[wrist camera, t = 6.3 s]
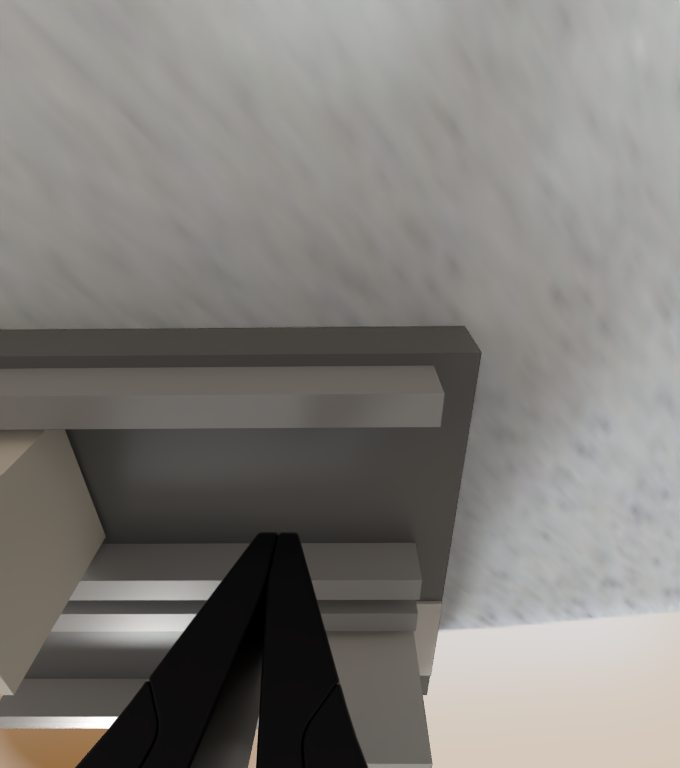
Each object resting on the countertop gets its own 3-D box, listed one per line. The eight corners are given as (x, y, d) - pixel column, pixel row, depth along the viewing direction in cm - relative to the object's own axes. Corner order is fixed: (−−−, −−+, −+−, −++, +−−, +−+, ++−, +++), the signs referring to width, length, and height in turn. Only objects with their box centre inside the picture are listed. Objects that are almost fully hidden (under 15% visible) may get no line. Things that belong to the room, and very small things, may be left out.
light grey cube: (409, 604, 14) (432, 763, 10) (402, 675, 16) (419, 829, 12) (280, 604, 14) (259, 763, 10) (288, 675, 16) (273, 829, 12)
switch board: (464, 326, 11) (497, 379, 9) (420, 654, 18) (432, 732, 16) (-181, 331, 11) (-319, 385, 9) (22, 654, 18) (-26, 732, 16)
